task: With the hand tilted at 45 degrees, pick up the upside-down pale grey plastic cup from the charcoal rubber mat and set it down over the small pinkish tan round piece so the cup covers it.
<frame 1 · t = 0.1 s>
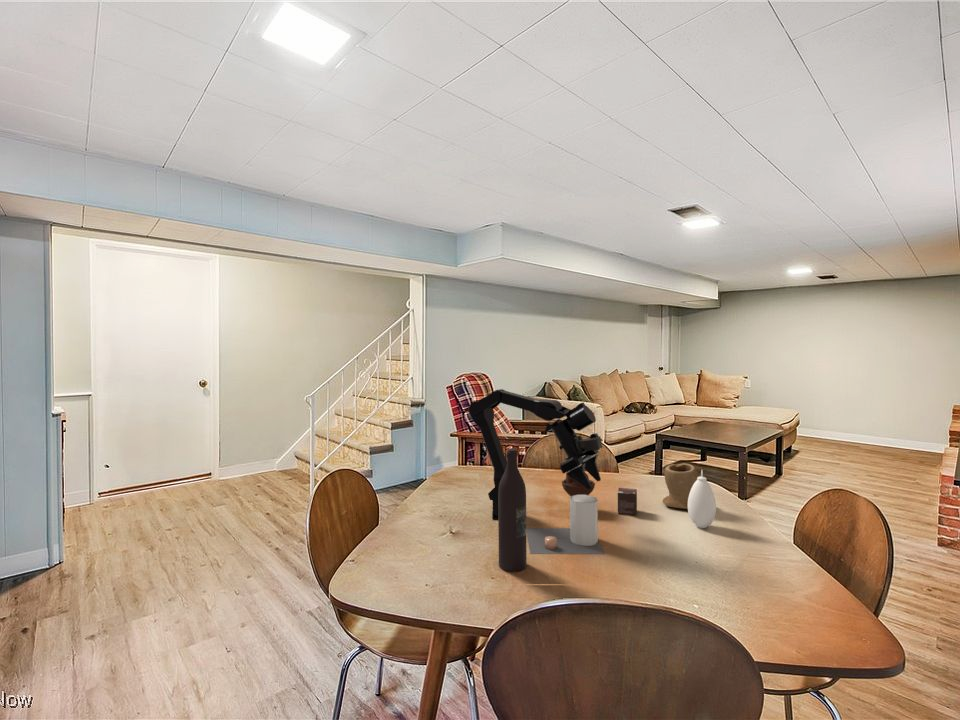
hand: (594, 484, 142), 15 cm above the table, tool tilted 35°, fingers open, 9 cm apart
pinkish tan round piece: (550, 547, 133), resting on mat
ice cream bowl: (578, 510, 164), on the table
sauce bottle: (701, 527, 148), on the table
stone cup: (685, 508, 164), on the table
wine bottle: (512, 567, 122), on the table
cover cup: (583, 540, 138), resting on mat
mat: (562, 541, 138), on the table
box: (627, 512, 161), on the table
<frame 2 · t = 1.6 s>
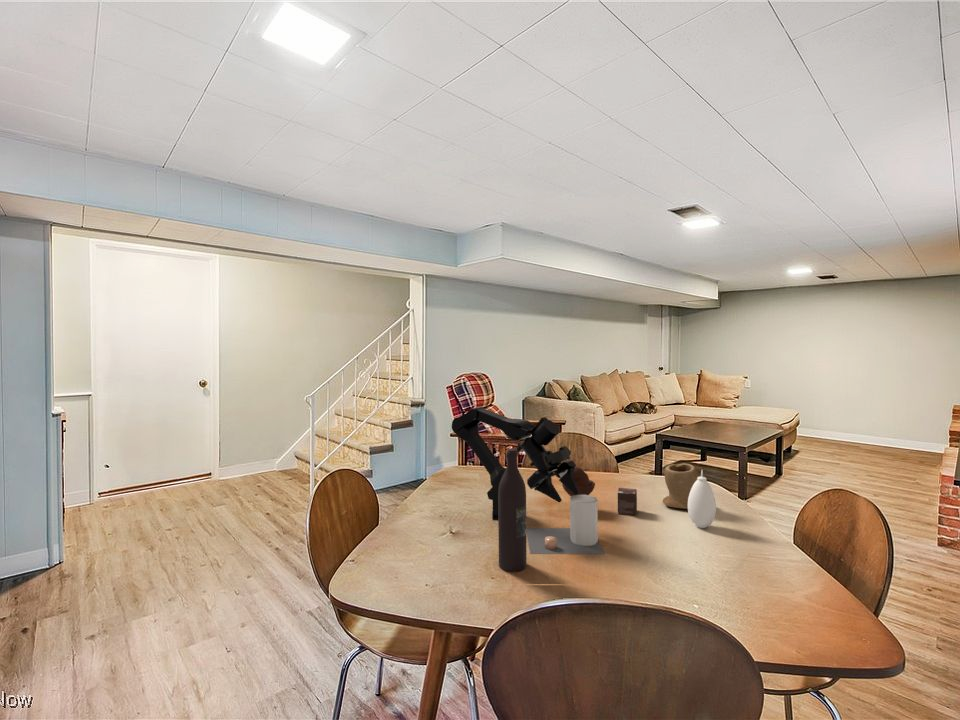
hand: (569, 497, 140), 12 cm above the table, tool tilted 45°, fingers open, 9 cm apart
nothing on the table moved.
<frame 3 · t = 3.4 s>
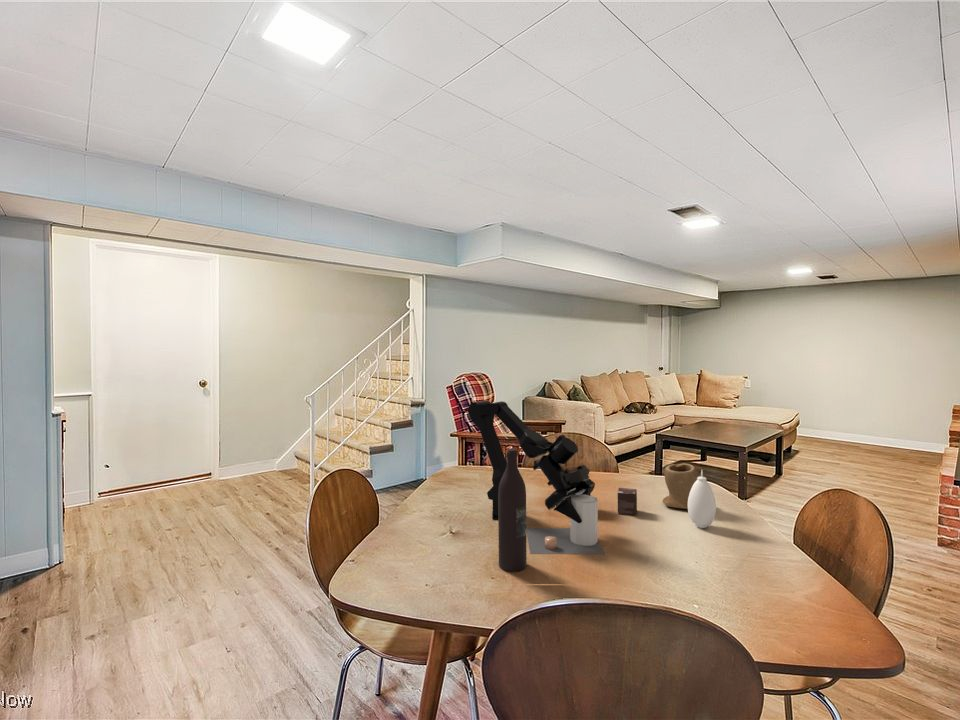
hand: (588, 518, 136), 7 cm above the table, tool tilted 45°, fingers closed on cover cup, 8 cm apart
cover cup: (583, 540, 138), resting on mat, touching gripper
everything else where it was.
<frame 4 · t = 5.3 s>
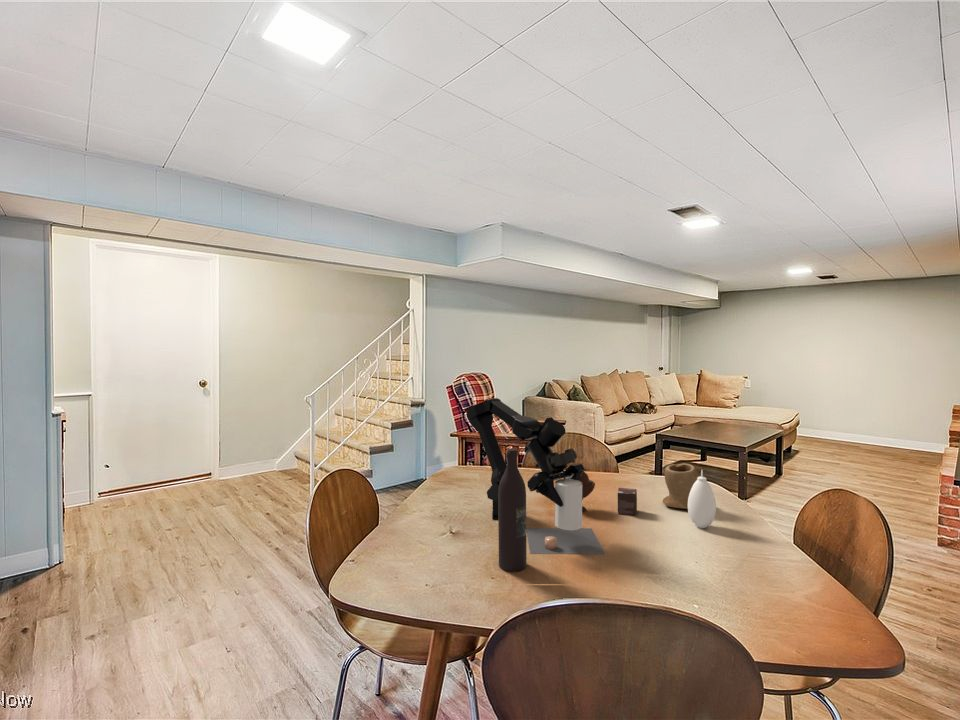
hand: (572, 503, 133), 12 cm above the table, tool tilted 45°, fingers closed on cover cup, 8 cm apart
cover cup: (568, 524, 135), point 6 cm above the table, touching gripper
everything else where it was.
when the fingers open (8 cm above the table, at t = 7.4 s): cover cup drops 1 cm, resting on mat.
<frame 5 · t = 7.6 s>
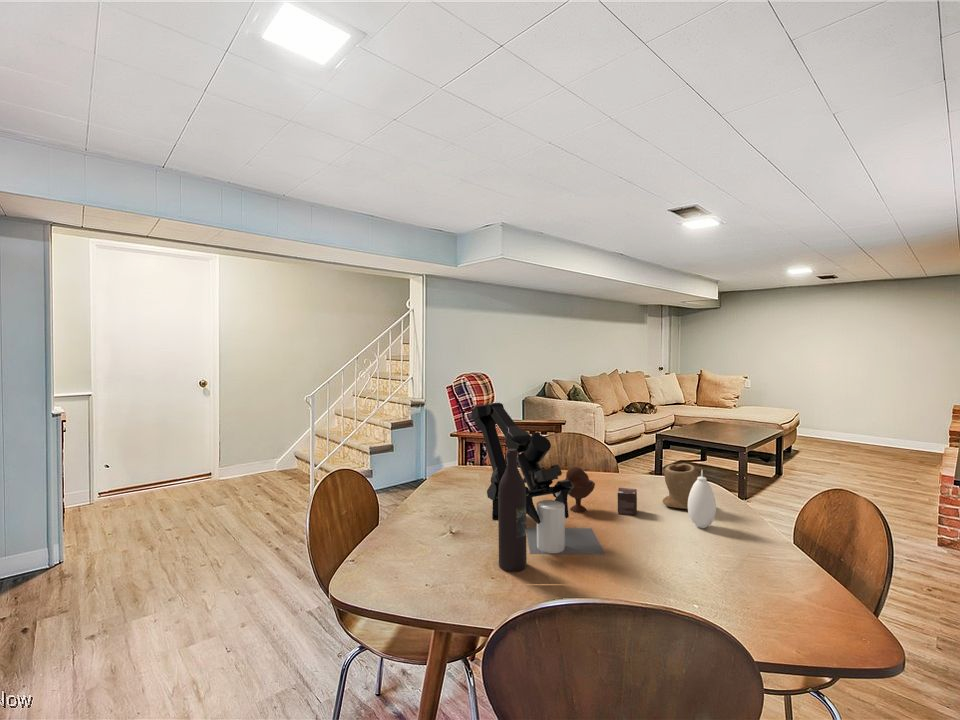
hand: (553, 520, 131), 8 cm above the table, tool tilted 45°, fingers open, 9 cm apart
cover cup: (550, 547, 133), resting on mat
everything else where it was.
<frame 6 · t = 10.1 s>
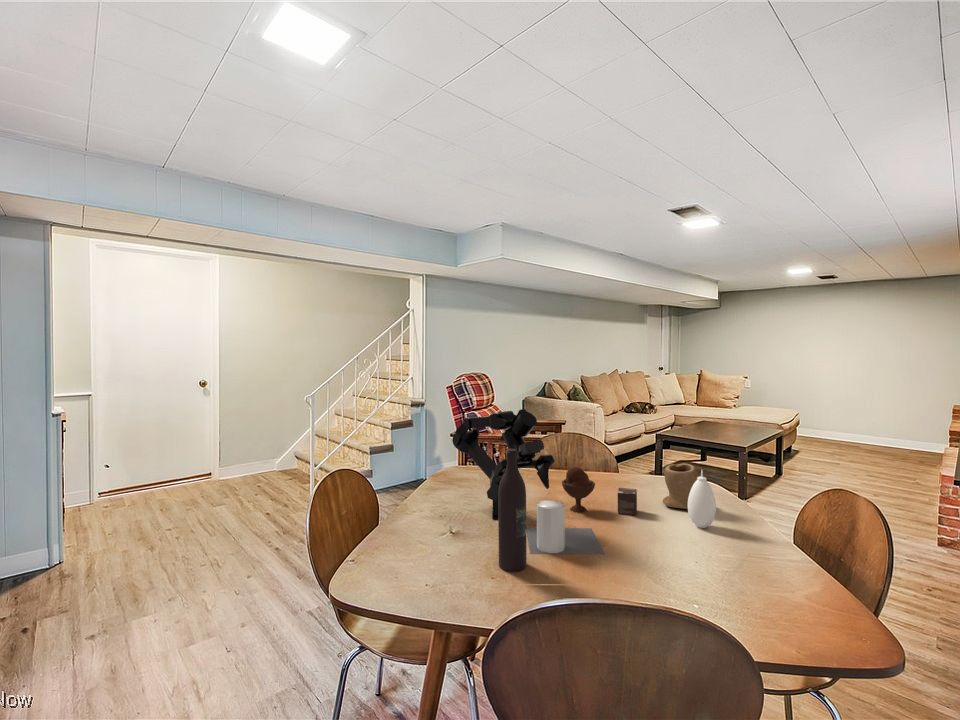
hand: (535, 490, 141), 14 cm above the table, tool tilted 45°, fingers open, 9 cm apart
nothing on the table moved.
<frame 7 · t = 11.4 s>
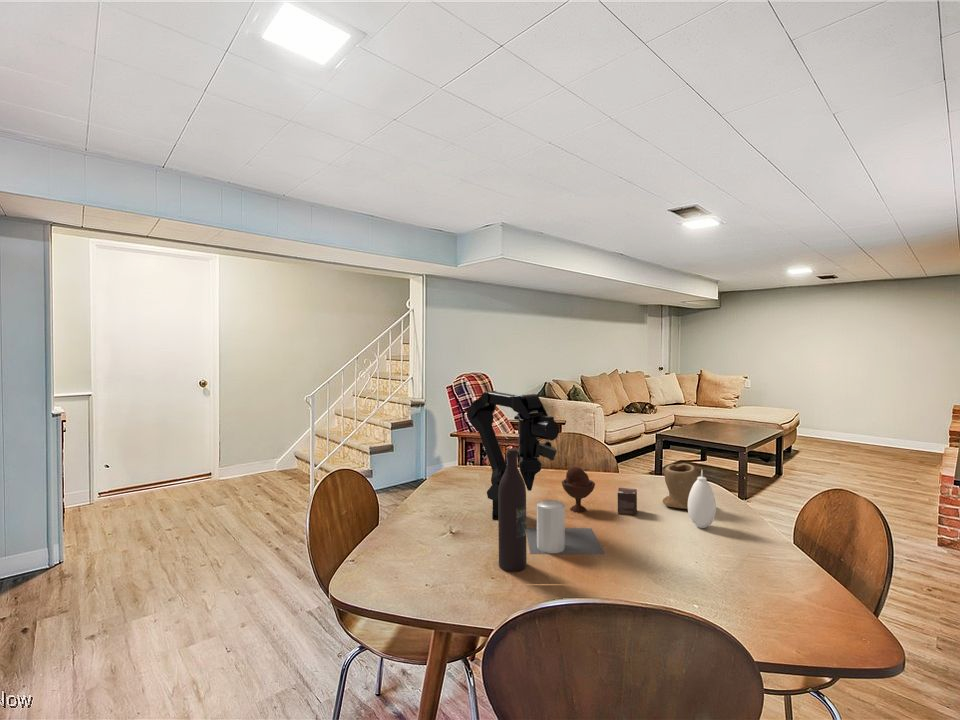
hand: (528, 486, 148), 13 cm above the table, tool pointing down, fingers open, 9 cm apart
nothing on the table moved.
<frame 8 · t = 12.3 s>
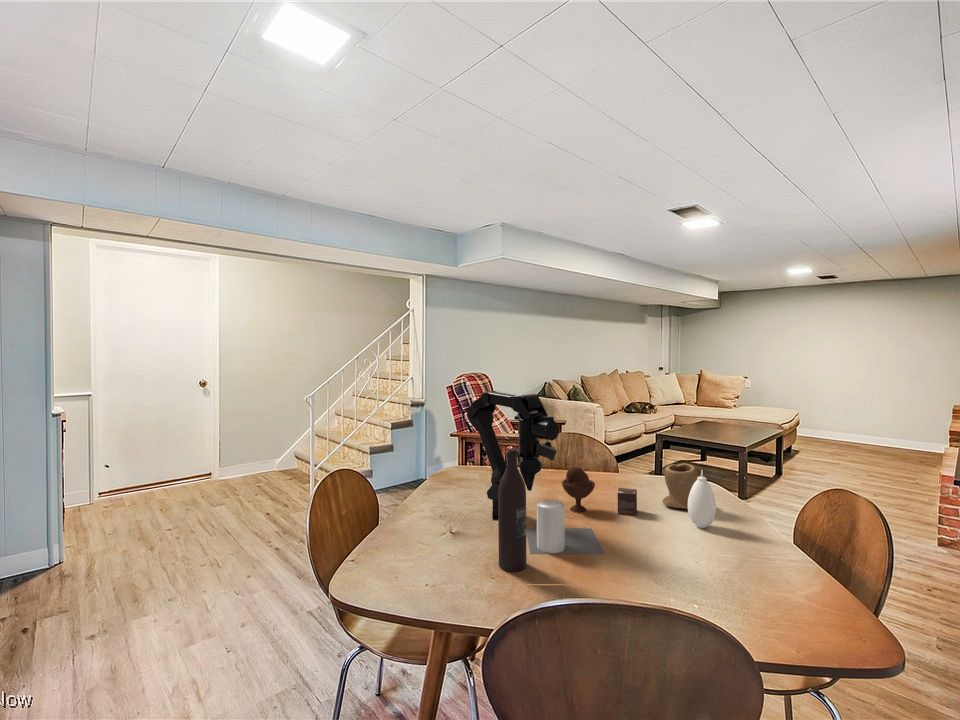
hand: (528, 486, 148), 13 cm above the table, tool pointing down, fingers open, 9 cm apart
nothing on the table moved.
at the end: cover cup 0.1 cm from the pinkish tan round piece (horizontally); cover cup resting on mat; cover cup tilted 0° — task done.
